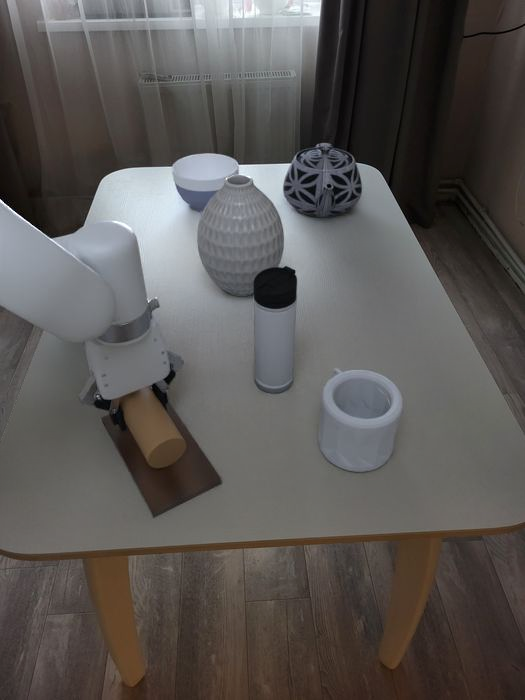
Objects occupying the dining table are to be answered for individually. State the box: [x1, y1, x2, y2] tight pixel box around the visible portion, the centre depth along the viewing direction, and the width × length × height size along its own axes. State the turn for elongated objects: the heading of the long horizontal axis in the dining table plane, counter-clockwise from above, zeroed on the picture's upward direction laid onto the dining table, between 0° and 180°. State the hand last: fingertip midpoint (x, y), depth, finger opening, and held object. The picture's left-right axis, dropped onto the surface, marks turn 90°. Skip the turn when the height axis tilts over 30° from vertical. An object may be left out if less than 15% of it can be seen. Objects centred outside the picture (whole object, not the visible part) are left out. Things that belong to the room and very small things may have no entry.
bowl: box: [171, 153, 240, 213], centre depth 135 cm, size 16×16×10 cm
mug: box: [317, 367, 404, 473], centre depth 78 cm, size 14×11×10 cm
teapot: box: [282, 142, 363, 218], centre depth 132 cm, size 19×31×15 cm, turn 179°
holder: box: [101, 400, 222, 519], centre depth 79 cm, size 10×19×1 cm, turn 32°
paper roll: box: [119, 385, 186, 468], centre depth 78 cm, size 6×12×6 cm, turn 32°
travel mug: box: [252, 265, 298, 394], centre depth 84 cm, size 6×7×20 cm
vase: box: [196, 174, 285, 297], centre depth 104 cm, size 16×16×22 cm
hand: (140, 414), depth 82 cm, fingers closed on paper roll, 5 cm apart
